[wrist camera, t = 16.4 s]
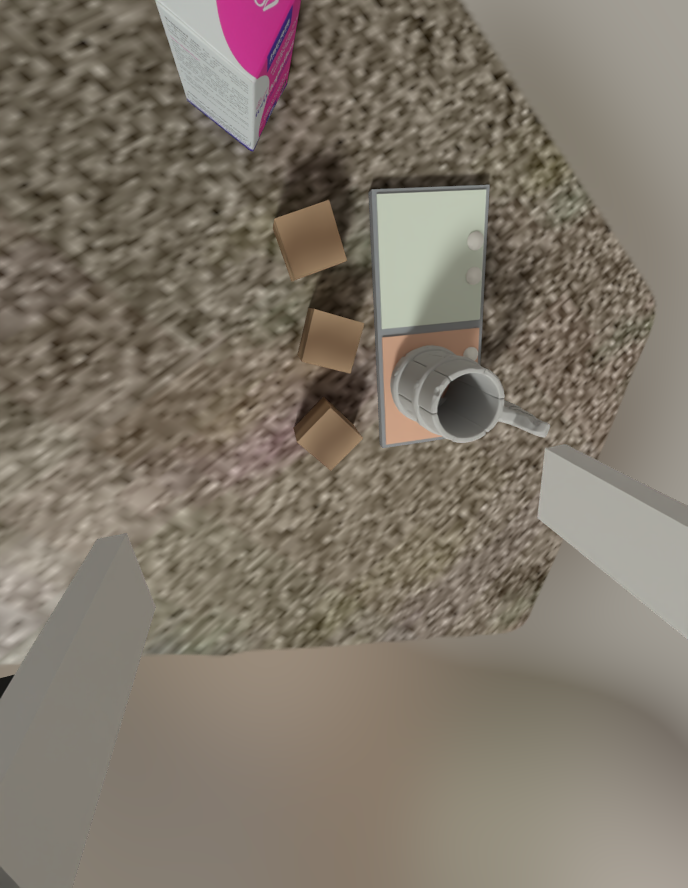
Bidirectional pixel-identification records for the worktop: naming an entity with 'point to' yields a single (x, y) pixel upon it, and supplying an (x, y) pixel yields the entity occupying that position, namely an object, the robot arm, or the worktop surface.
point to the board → (425, 284)
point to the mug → (455, 396)
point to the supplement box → (232, 58)
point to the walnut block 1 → (309, 240)
